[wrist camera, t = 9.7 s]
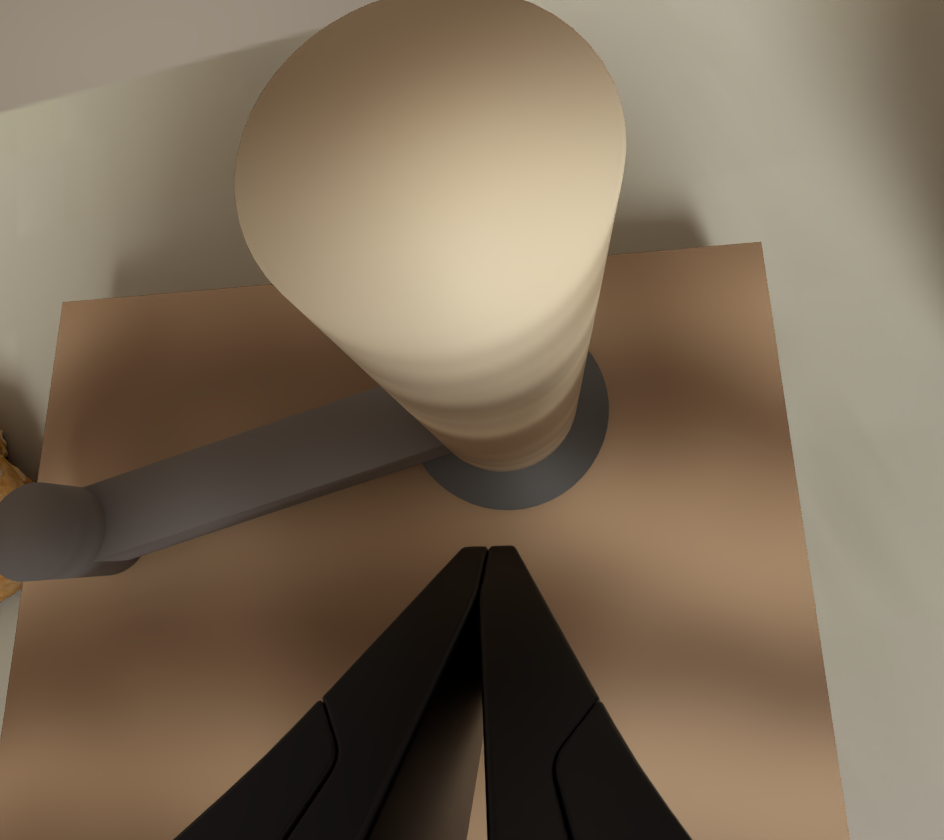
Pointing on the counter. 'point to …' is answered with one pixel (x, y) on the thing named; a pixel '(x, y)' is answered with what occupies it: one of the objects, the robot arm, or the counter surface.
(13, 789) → the stool seat
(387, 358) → the folding leg
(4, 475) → the bagel
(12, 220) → the counter surface
